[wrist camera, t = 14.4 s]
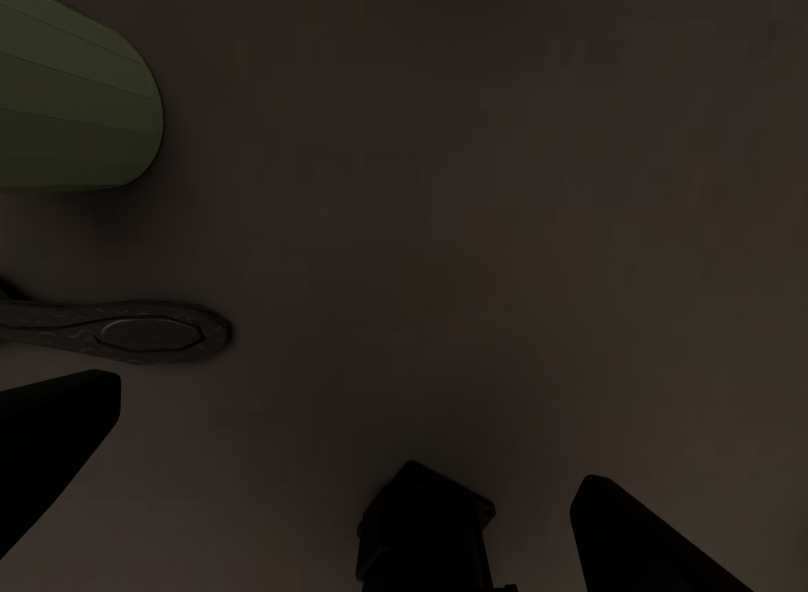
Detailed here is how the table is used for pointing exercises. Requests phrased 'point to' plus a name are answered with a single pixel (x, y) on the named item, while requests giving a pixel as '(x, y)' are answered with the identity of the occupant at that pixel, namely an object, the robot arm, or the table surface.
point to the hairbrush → (117, 329)
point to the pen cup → (71, 102)
